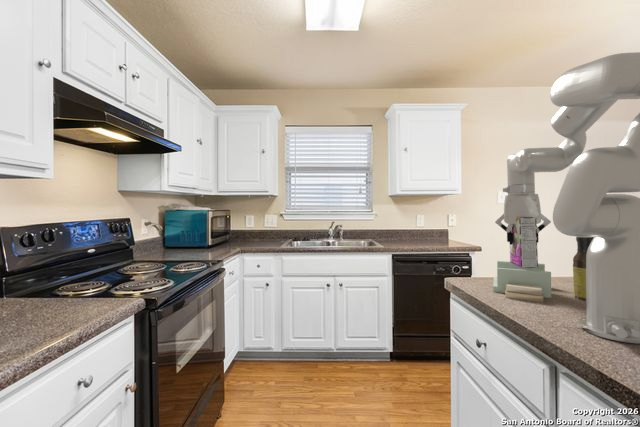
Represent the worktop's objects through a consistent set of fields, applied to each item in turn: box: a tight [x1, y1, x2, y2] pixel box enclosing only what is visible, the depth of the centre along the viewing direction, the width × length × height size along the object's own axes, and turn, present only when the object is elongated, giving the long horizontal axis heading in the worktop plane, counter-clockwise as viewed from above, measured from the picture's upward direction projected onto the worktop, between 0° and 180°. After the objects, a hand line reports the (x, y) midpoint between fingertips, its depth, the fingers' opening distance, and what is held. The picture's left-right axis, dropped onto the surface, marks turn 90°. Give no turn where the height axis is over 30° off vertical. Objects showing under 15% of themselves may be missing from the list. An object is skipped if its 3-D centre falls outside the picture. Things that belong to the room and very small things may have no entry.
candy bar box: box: [509, 217, 539, 268], centre depth 99 cm, size 11×5×16 cm, turn 164°
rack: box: [492, 260, 552, 299], centre depth 100 cm, size 16×15×9 cm
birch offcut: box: [504, 291, 544, 303], centre depth 90 cm, size 5×9×2 cm, turn 54°
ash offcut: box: [506, 283, 542, 296], centre depth 91 cm, size 4×9×2 cm, turn 50°
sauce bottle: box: [572, 236, 595, 302], centre depth 88 cm, size 6×6×20 cm
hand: (522, 243), depth 99 cm, fingers closed on candy bar box, 5 cm apart
